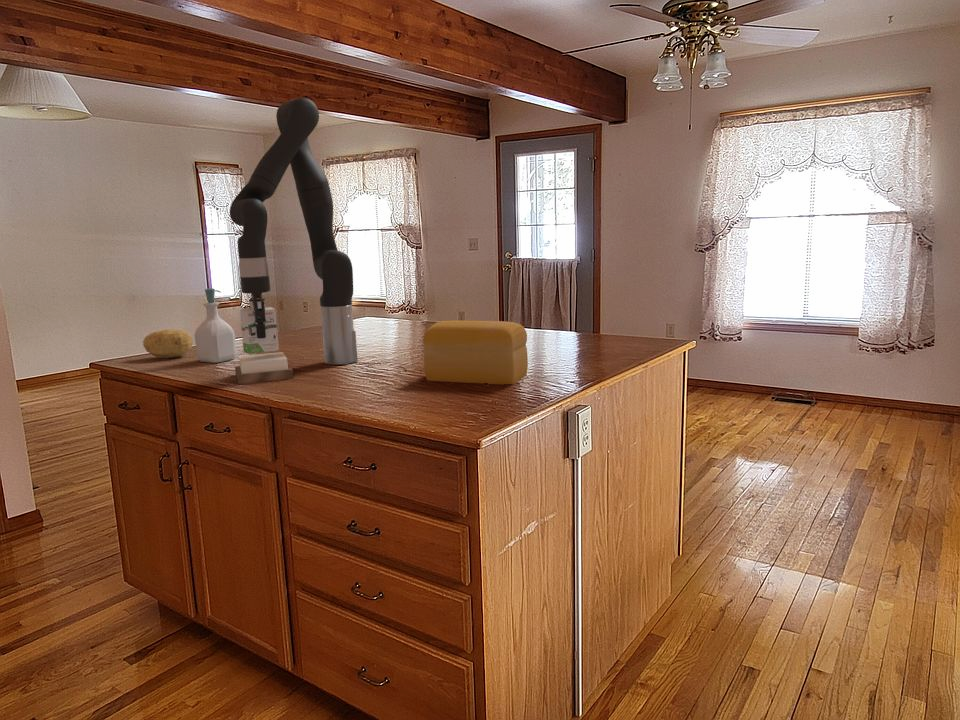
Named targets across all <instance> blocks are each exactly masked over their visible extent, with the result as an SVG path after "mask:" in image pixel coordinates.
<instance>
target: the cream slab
mask: <svg viewBox="0 0 960 720" xmlns="http://www.w3.org/2000/svg"><path fill="white" fill-rule="evenodd" d="M238 357H239V366H240V368H241V373H242V374H249V373H259V372H269V371H279V370H288V365H289V363H288V357H287V356H286V355H285V352H284V351H282V352H280V351H279V352H271V353H270V352H269V353H267V352H266V353H255V354H249V355H247V354H246V355H239V356H238Z"/></svg>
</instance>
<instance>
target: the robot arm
mask: <svg viewBox="0 0 960 720" xmlns="http://www.w3.org/2000/svg"><path fill="white" fill-rule="evenodd" d="M319 121H320V113H319V109H318V107H317V105H316V104H315V102H313V100H311V99H309V98H308V97H297V98H293V99H291V100H288V101H286V102H283V103H281V104H280V105H279V106H278V108H277V110H276V124H277V127H278V131H279V133H280V134H279V136H278V137H277V139H276V140H275V142H274V143H273V144H272V145H271V146H270V147H269V148H268V150H267V151H266V152H265V153H264V154H263V156H262V157H261V159H260V160H259V162H258V164H257V165H256V167H255V168H254V170H253V172H252V174H251V176H250V178H249V180H248V182H247V183H246V185H244V187H243V188H242V189H241V190H240V192H238V194H237V195H236V196H235V198H234V199H233V201H232V202H231V204H230V208H229V217H230V219H231V221H232V222H233V223H234V224H236V225H237V226H240V227H242V235H241V236H240V237H238V238H237V252H238V271H239V281H240V290H241V293H242V294H251V295H250V296H251V297H250V298H249V299H248V305H249V306H250V308H252V314H253V316H254V317H255V324H256V330H257V338H259V339H260V338H265V337H266V333H265V323H266V319H265V315H266V311H265V307H266V299H265V298H263V293H269V292H270V291H271V282H270V281H271V280H270V272H269V271H270V269H269V264H268V259H267V250H266V243H265V242H266V235H267V229H268V211H267V208H266V206H265V204H264V202H265V201H266V200H268V199H271V197H273V195H274V194H275V192H276V190H277V188H278V187H279V185H280V182H282V181H281V180H282V179H283V176H284V175H285V173H286V171H287V169H288V168H289V166H290V168H291V172H292V176H293V181H294V183H295V188H296V193H297V196H298V197H297V198H298V200H299V205H300V208H301V211H302V215H303V219H304V223H305V226H306V230H307V233H308V234H307V235H308V237H309V242H310V249H311V257H312V264H313V265H312V266H313V269H314V272H315V274H316V276H317V277H318V278H320V280H322V292H321V293H322V294H321V295H320V296H319V305H320V306H319V307H320V318H321V328H322V329H321V331H322V332H321V333H322V343H323V345H322V346H323V355H324V356H323V358H324V364H326V365H333V366H335V365H337V366H339V365H347V364H352V363H355V362H356V363H357V362H359V361H358V349H357V336H356V335H357V334H356V330H355V329H354V314H353V305H352V304H353V295H354V273H353V271H354V270H353V265H352V261H351V259H350V257H349V255H347V254H346V253H345V252H343V251H341V250H339V249H338V247H337V243H336V240H335V237H334V230H333V226H334V225H333V224H334V223H333V222H334V202H333V197H332V196H333V195H332V191H331V187H330V183H329V179H328V178H327V176H326V174H325V172H324V171H323V169H322V168H321V166H320V165H319V163H318V162H317V160H316V158H315V157H314V155H313V152H312V150H311V147H310V142H309V138H308V137H309V136H310V135H311V134H312V133H313V131H315V129H316V127H317V126H318V123H319ZM254 310H255V312H254ZM257 316H262V318H258V317H257Z"/></svg>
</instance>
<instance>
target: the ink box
mask: <svg viewBox="0 0 960 720" xmlns="http://www.w3.org/2000/svg"><path fill="white" fill-rule="evenodd" d="M265 311H266V315H265V319H266V323H265V333H266V337H265V338H260V339H259V338H257V330H256V324H255V317H254V316H253V314H252V308H242V309H240V310H239V313H240V315H239V316H240V323H241V325H240V326H241V334H242V335H241V338H242V346H243V352H244V353H246V354H249V355H253V354H261V353H267V352H274V351H275V352H276V351H279V350H280V347H279V345H280V344H279V337H278V336H279V335H278V324H277V323H278V322H277V314H276V313H277V312H276V308H274V307H271V306H265ZM254 312H255V310H254ZM257 317H258V318H262V316H257Z"/></svg>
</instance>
